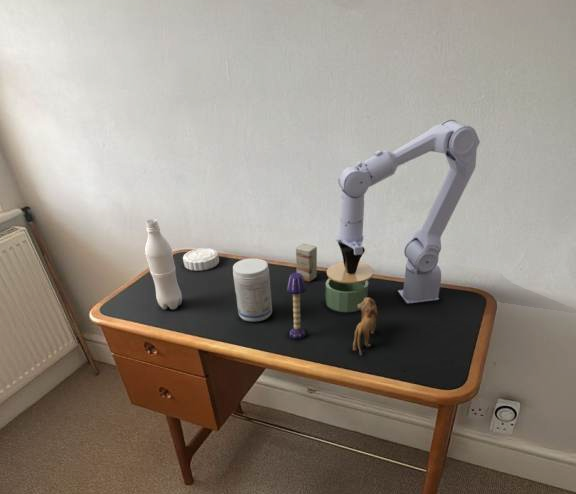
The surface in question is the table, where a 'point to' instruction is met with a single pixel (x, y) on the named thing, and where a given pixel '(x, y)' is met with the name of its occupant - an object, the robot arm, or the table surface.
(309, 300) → the table surface
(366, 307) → the lion figurine
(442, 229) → the robot arm
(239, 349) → the table surface
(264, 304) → the supplement tub
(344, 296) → the canister
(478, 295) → the table surface
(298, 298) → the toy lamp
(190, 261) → the mooncake
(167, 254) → the water bottle
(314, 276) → the beige rectangular box
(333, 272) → the lid
